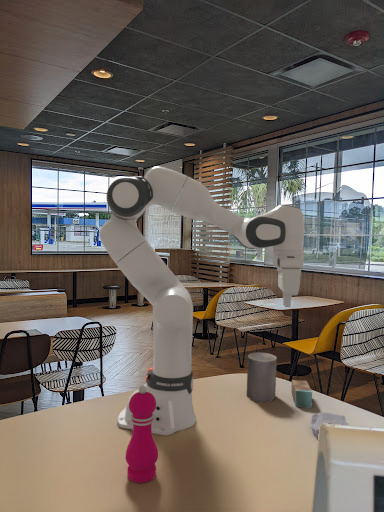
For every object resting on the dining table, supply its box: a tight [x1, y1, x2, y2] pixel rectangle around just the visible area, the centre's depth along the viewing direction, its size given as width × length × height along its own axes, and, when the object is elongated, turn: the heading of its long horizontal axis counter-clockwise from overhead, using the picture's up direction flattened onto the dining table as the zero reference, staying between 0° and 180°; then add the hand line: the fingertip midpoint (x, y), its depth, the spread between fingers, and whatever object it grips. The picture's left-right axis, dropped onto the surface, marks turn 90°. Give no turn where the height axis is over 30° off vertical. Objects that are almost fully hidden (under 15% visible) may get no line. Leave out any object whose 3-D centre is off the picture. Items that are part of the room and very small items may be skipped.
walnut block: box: [291, 379, 313, 408], centre depth 128 cm, size 5×5×10 cm
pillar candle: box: [246, 351, 277, 403], centre depth 131 cm, size 10×10×15 cm
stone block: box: [310, 412, 350, 440], centre depth 107 cm, size 12×5×10 cm
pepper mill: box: [125, 385, 159, 484], centre depth 86 cm, size 7×7×20 cm
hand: (286, 306), depth 115 cm, fingers closed
